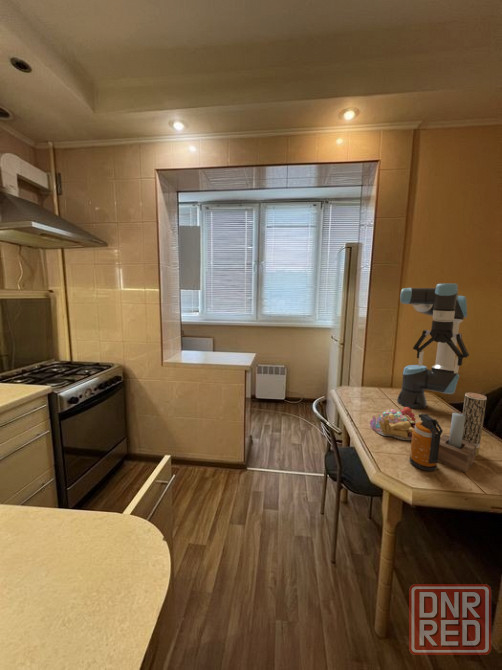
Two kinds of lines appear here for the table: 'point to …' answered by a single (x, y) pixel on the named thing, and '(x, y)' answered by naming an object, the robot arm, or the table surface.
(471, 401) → the bark covered log
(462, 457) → the hollow walnut box
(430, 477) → the table surface
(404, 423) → the candy landscape model
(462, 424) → the dowel
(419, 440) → the canister
